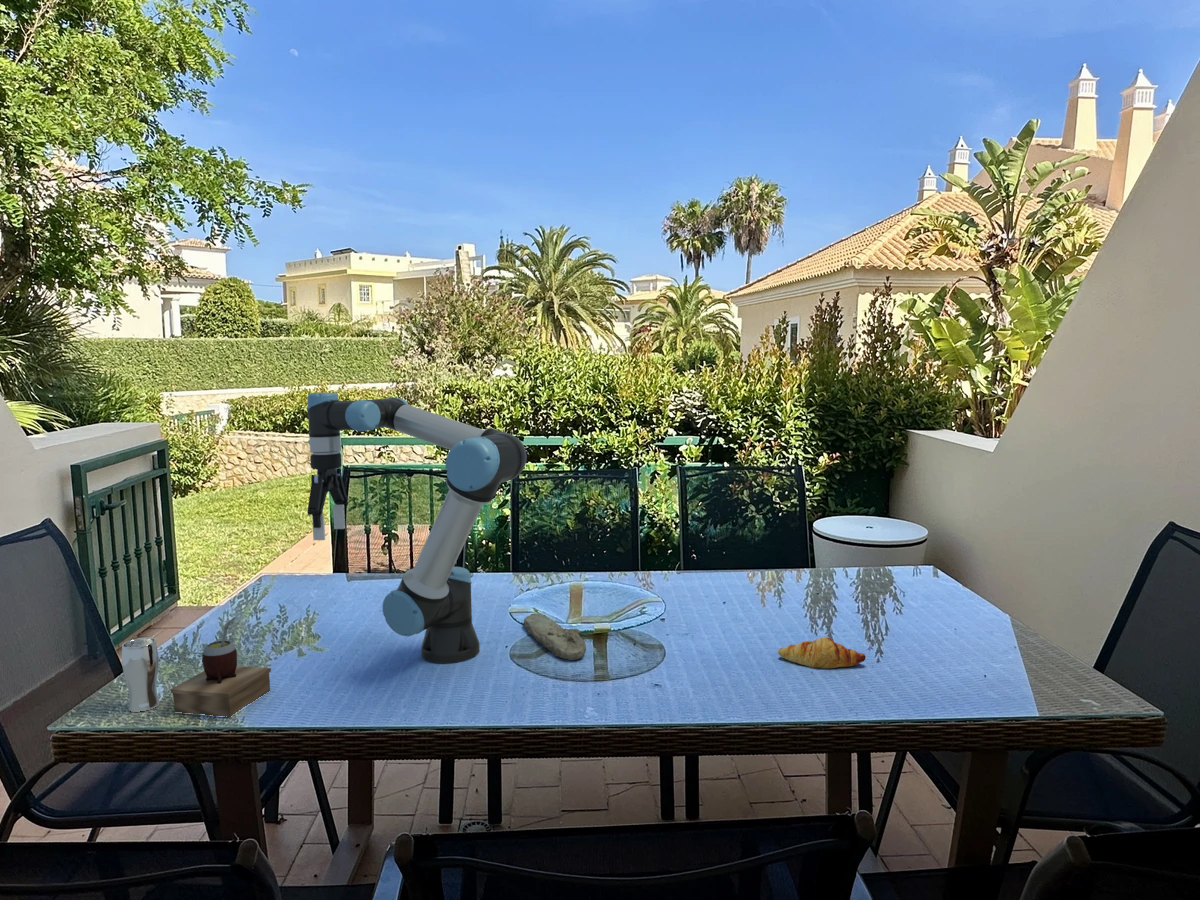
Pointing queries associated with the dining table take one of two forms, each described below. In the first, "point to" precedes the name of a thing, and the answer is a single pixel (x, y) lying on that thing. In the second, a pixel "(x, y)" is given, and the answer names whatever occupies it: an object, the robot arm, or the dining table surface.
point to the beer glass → (141, 673)
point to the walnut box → (221, 692)
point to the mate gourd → (220, 659)
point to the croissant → (821, 654)
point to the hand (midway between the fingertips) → (329, 534)
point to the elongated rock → (555, 637)
